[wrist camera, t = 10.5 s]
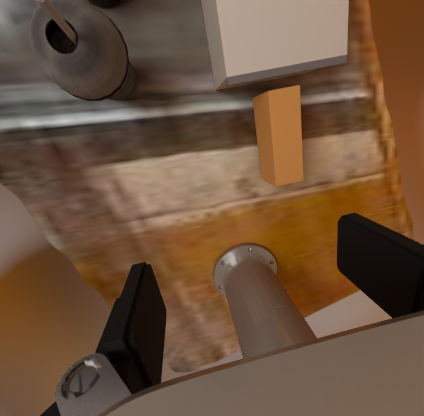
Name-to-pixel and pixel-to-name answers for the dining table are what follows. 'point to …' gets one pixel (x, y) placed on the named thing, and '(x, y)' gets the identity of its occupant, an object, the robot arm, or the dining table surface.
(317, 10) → the beige rectangular block
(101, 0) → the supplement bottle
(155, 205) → the dining table surface
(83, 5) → the beverage cup
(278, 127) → the orange rectangular block
